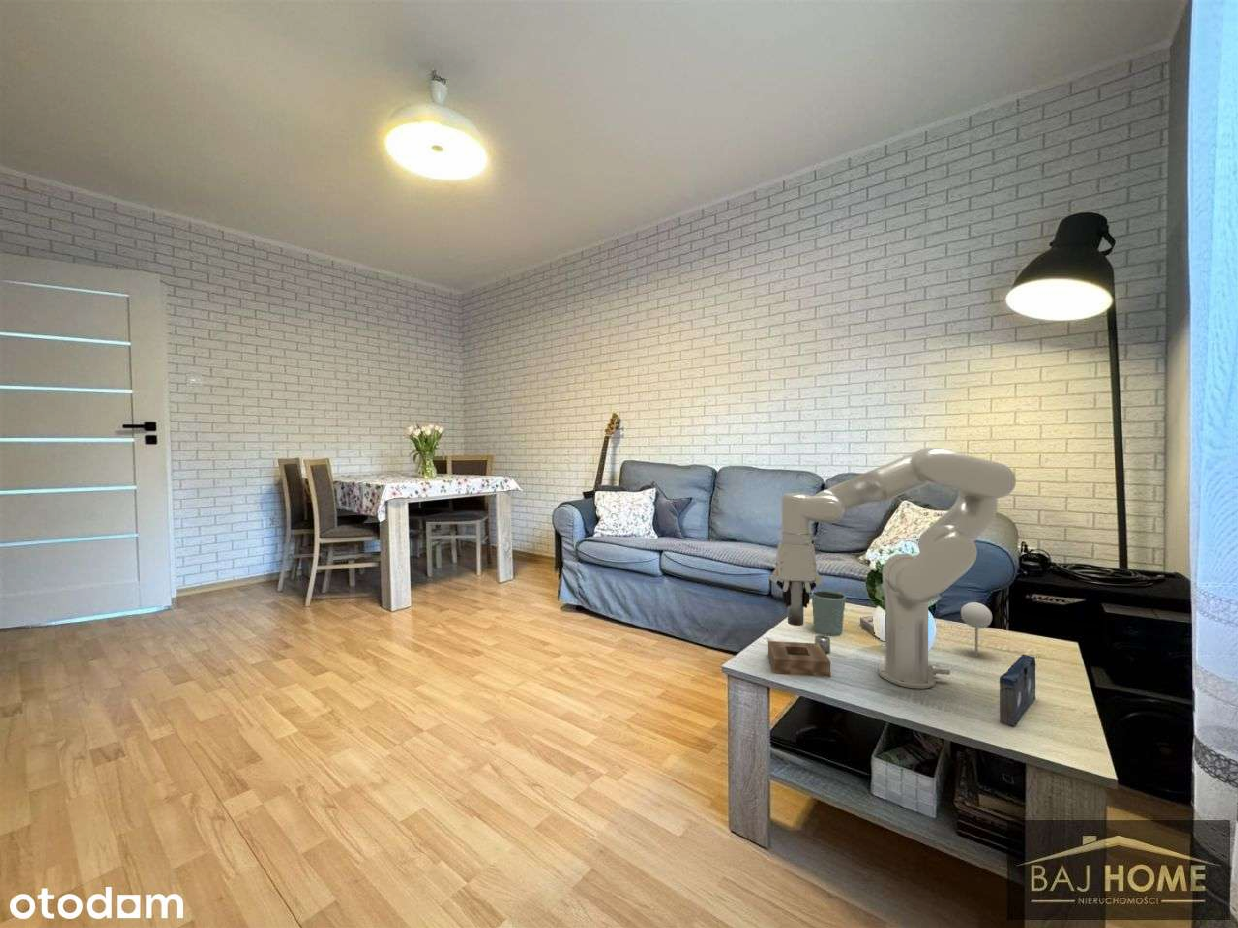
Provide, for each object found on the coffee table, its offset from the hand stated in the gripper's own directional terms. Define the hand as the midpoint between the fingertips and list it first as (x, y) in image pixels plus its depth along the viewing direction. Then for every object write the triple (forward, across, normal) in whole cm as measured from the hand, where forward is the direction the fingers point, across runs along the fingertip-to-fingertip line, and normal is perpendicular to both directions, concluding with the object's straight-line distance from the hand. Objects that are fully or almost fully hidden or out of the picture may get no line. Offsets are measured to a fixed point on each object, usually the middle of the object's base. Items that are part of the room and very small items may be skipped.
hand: (795, 605), depth 130 cm
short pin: (+17, -10, -10) cm, 22 cm away
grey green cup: (+17, -16, -27) cm, 36 cm away
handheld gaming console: (+17, -32, -28) cm, 46 cm away
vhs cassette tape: (+16, -45, +17) cm, 50 cm away
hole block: (+17, -1, 0) cm, 17 cm away
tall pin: (+5, 0, 0) cm, 5 cm away
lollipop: (+16, -52, -13) cm, 56 cm away
